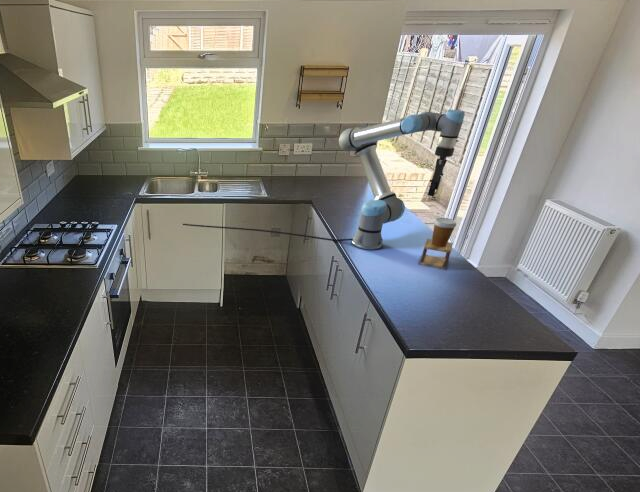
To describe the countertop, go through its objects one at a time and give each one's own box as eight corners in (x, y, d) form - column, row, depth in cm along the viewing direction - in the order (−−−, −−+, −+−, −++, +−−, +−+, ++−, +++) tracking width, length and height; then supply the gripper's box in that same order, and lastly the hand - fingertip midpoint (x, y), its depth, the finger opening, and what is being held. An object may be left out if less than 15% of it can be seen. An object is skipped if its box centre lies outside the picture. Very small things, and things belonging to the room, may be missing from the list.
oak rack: (419, 264, 213) (424, 246, 209) (422, 256, 222) (427, 238, 217) (445, 269, 208) (451, 250, 203) (447, 260, 217) (452, 242, 212)
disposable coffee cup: (437, 249, 205) (445, 225, 199) (423, 241, 213) (430, 218, 207) (454, 247, 207) (462, 223, 201) (439, 239, 215) (446, 216, 209)
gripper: (452, 152, 189) (437, 200, 200) (457, 143, 207) (443, 187, 218) (433, 150, 193) (420, 197, 204) (440, 141, 211) (427, 185, 222)
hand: (432, 192), depth 211 cm, fingers open, 13 cm apart
